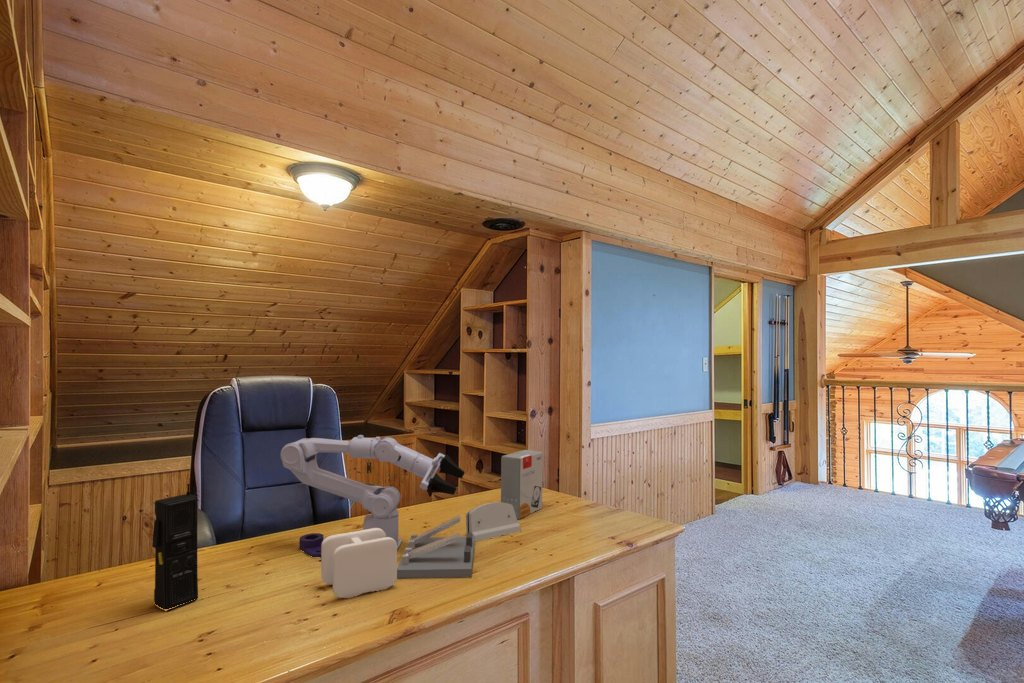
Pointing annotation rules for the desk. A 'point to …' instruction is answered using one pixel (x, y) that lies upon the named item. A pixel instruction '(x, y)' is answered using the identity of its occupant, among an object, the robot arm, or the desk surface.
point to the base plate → (439, 559)
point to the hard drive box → (522, 481)
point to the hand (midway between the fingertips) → (459, 483)
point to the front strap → (433, 546)
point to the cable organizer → (359, 562)
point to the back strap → (436, 529)
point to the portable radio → (175, 550)
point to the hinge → (491, 521)
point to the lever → (311, 544)
